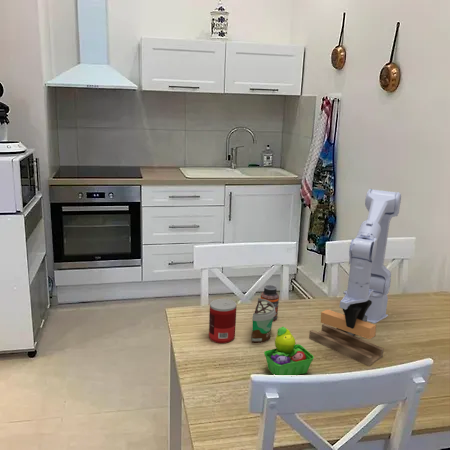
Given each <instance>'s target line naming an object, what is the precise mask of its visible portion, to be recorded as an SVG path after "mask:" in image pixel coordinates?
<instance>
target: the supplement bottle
mask: <svg viewBox="0 0 450 450" xmlns="http://www.w3.org/2000/svg"><path fill="white" fill-rule="evenodd" d="M263 290H264V291H262V292H261V294H260V298H261V299H265V300H268V301H270V302H271V303H273V305H274V307H275V311H276V315H275V316H274V317H273V321H272V323H273V322H276V321H277V319H278V312H279V311H278V310H279V303H280V302H279V301H280V299H279V298H280V295H279V293H277V287H276V286H274V285H272V284H271V285H270V284H269V285H265V286H264V288H263Z"/></svg>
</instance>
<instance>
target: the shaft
mask: <svg viewBox="0 0 450 450" xmlns="http://www.w3.org/2000/svg"><path fill="white" fill-rule="evenodd" d="M320 323H322V324H327V325H329V326H332V327H334V328H338V329H341V330H344V331H347V332H350V333H353V334H356V335H355V336H359V337H361V338H365V339H368V340H371V339H373V338H374V337H376V332H377V324H375V323H371V322H369V321H367V322H365V321H362V320H359V319H356V324H355V327H354V328H353V329H352V328H350V327H347V326H346V320H345V315H344V314H343V313H341V312H338V311H333V310H331V309H325V310H323V311H321V312H320Z"/></svg>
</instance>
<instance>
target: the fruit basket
mask: <svg viewBox="0 0 450 450" xmlns="http://www.w3.org/2000/svg"><path fill="white" fill-rule="evenodd" d="M296 343H297V342H296V339H295V337H294V335H293V334H292V333H291V330H289V329H288V328H286V327H285V326H281V327H279V328H278V329H277V332H276V337H275V339H274V345H275V348H272V349H267V350H265V351H264V352H263V353H264V357H265V359H266V363H267V369H268V371H270V373H271V374H272V375H273V374H275V375H296V376H298V375H304V374H307V373H308V371H309V368H310V366H311V364H312V361H313V360H314V358H315V356H314V355H313V354H311V352H310V351H308V350H307V349H306V348H305V347H304V346H303V345H301V344H300V343H299V344H296Z"/></svg>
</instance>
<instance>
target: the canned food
mask: <svg viewBox="0 0 450 450" xmlns="http://www.w3.org/2000/svg"><path fill="white" fill-rule="evenodd" d="M208 315H209V316H208V317H209V321H208V323H209V324H208V337H209V339H210V340H211V341H212V342H214V343H218V344H226V343H230V342H233V341H234V339H235V337H236V324H237V323H236V322H237V321H236V320H237V303H236V301H234V300H233V299H228V298H218V299H217V298H216V299H214V300H212V301H210V303H209V314H208Z"/></svg>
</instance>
